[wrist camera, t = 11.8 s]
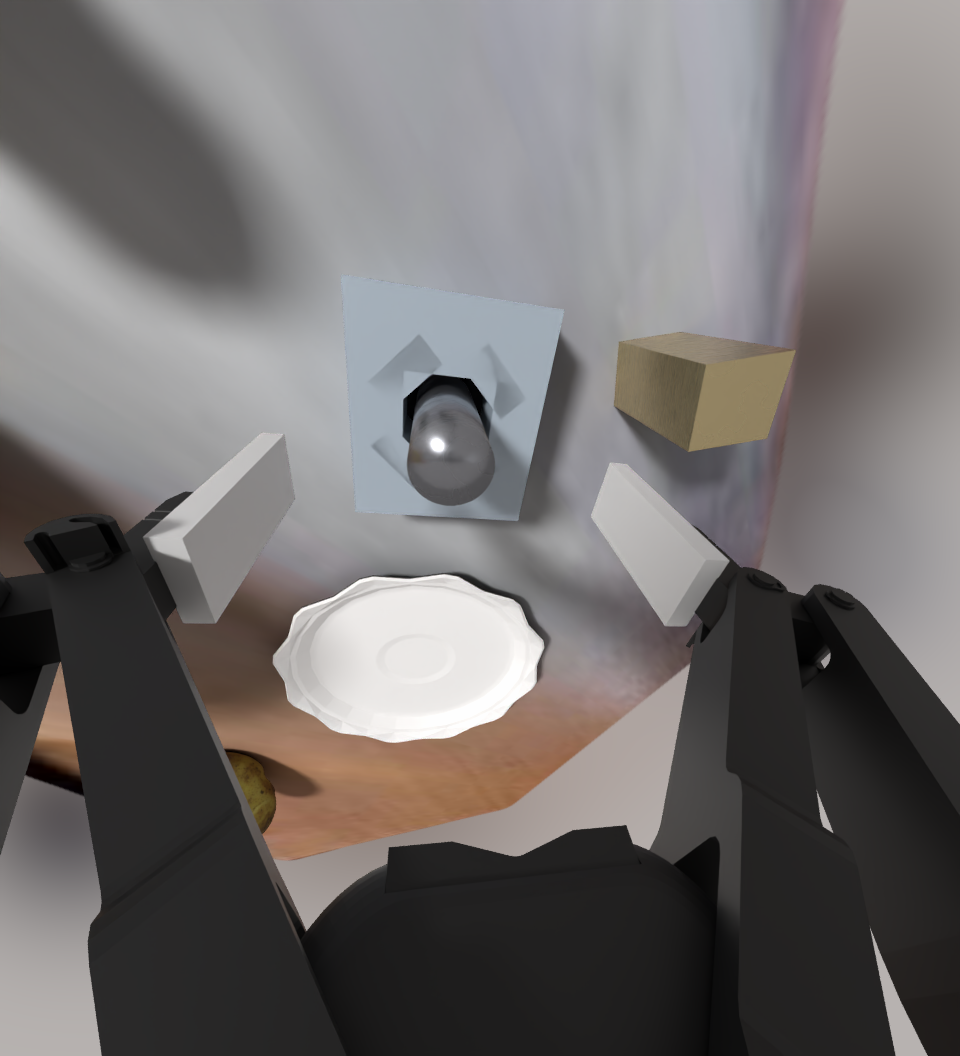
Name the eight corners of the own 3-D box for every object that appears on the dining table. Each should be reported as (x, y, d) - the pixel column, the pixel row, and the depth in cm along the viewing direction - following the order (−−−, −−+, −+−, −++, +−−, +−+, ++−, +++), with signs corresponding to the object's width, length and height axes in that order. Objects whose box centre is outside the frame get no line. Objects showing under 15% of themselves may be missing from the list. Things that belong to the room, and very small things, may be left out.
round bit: (417, 370, 26) (407, 419, 16) (475, 377, 26) (501, 428, 16) (415, 428, 28) (405, 503, 18) (468, 433, 29) (488, 508, 19)
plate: (522, 715, 53) (525, 732, 51) (312, 732, 49) (307, 751, 47) (555, 556, 37) (562, 571, 35) (249, 564, 33) (238, 582, 31)
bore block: (357, 277, 22) (340, 274, 18) (542, 306, 24) (564, 309, 20) (366, 481, 30) (355, 511, 26) (506, 491, 32) (517, 520, 28)
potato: (255, 736, 48) (227, 808, 41) (293, 779, 55) (274, 846, 48) (192, 747, 48) (153, 821, 41) (239, 788, 55) (212, 857, 48)
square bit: (618, 341, 26) (706, 364, 18) (680, 332, 26) (795, 350, 18) (614, 405, 29) (688, 451, 20) (670, 396, 29) (766, 438, 20)
